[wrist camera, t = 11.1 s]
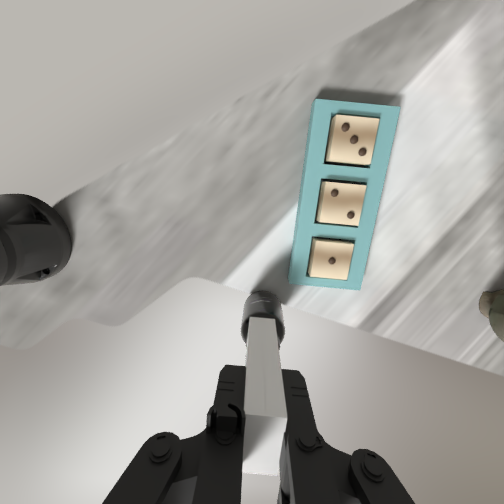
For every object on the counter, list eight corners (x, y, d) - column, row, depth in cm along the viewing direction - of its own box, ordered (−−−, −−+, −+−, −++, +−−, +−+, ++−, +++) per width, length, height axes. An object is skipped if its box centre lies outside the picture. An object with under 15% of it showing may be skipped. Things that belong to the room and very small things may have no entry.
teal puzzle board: (354, 284, 46) (360, 290, 43) (287, 278, 45) (289, 283, 43) (391, 111, 38) (400, 106, 36) (311, 104, 38) (315, 98, 36)
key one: (341, 274, 44) (347, 280, 41) (307, 271, 44) (310, 277, 41) (348, 240, 42) (354, 244, 40) (312, 237, 42) (316, 241, 40)
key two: (352, 223, 41) (358, 225, 39) (315, 219, 41) (319, 222, 39) (360, 185, 40) (367, 185, 37) (321, 181, 40) (326, 181, 37)
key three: (363, 165, 39) (370, 164, 37) (324, 161, 39) (329, 160, 37) (371, 122, 38) (380, 118, 35) (331, 118, 38) (337, 114, 35)
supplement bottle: (263, 282, 46) (265, 315, 34) (288, 307, 47) (298, 348, 35) (236, 305, 47) (229, 345, 36) (260, 329, 48) (261, 375, 37)
